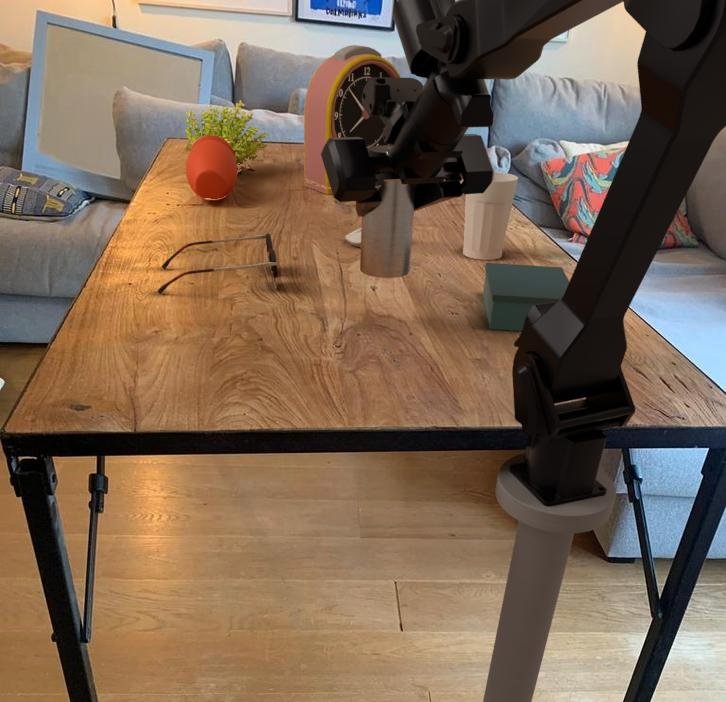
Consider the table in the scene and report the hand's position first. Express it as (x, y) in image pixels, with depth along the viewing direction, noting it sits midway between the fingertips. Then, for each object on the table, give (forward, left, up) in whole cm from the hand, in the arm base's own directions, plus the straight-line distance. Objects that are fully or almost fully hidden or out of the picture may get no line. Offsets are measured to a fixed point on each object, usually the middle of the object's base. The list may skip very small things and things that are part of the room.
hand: (382, 211), depth 86 cm
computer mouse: (+33, -13, -13) cm, 37 cm away
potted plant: (+83, +2, -13) cm, 84 cm away
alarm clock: (+76, -25, -13) cm, 81 cm away
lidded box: (-3, -20, -13) cm, 24 cm away
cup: (+23, -28, -13) cm, 38 cm away
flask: (-1, 0, -7) cm, 7 cm away
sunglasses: (+20, +16, -13) cm, 29 cm away
